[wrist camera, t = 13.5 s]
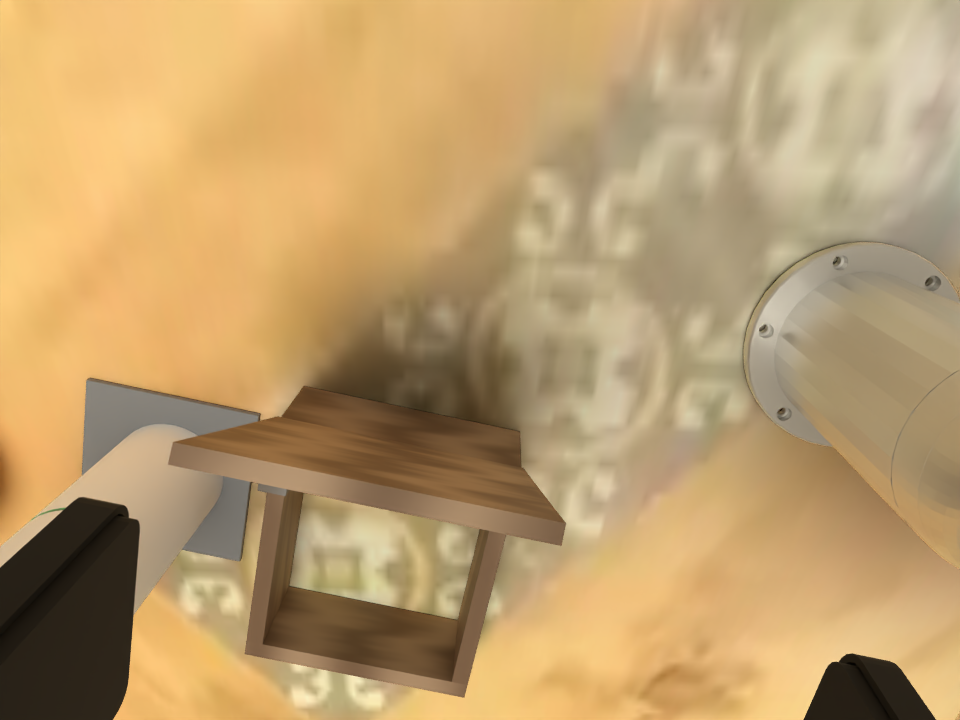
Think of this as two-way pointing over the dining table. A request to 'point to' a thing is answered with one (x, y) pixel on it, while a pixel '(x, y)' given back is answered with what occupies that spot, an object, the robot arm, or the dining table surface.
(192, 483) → the cylindrical container
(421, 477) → the case
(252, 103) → the dining table surface
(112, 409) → the mat
